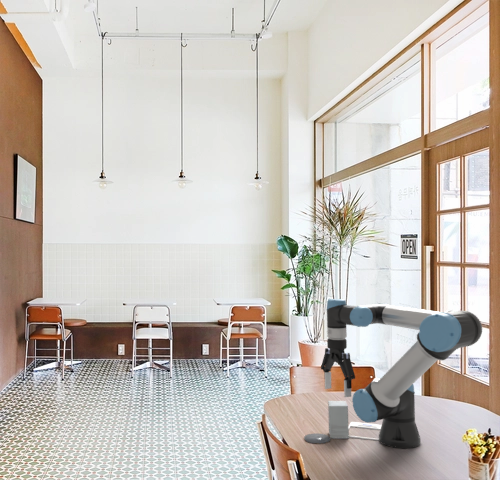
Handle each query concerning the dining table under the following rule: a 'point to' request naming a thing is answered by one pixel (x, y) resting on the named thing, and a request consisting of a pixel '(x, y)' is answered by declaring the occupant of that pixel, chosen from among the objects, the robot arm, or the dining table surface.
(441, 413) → the dining table surface
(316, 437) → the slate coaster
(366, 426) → the photo frame
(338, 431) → the supplement box
